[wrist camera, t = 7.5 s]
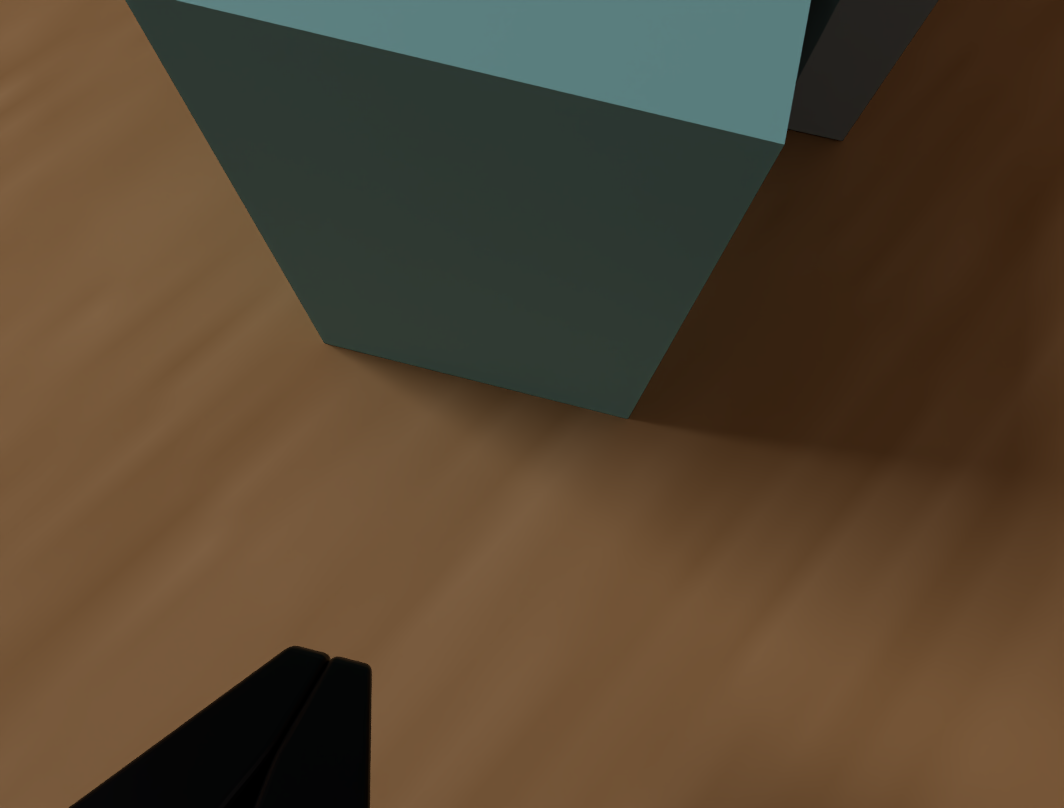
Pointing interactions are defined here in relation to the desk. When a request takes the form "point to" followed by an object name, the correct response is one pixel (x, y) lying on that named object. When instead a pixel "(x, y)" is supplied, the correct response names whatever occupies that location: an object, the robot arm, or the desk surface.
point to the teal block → (493, 167)
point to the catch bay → (849, 59)
